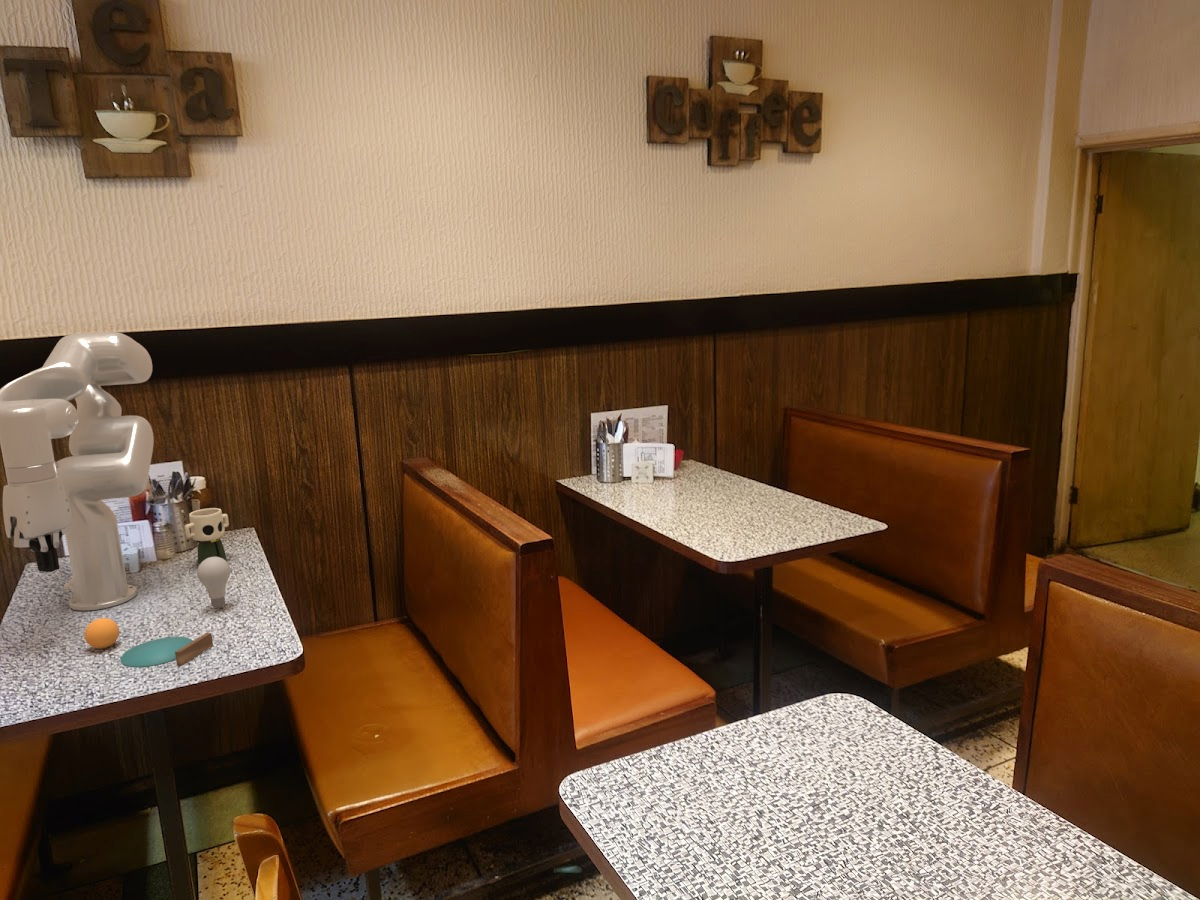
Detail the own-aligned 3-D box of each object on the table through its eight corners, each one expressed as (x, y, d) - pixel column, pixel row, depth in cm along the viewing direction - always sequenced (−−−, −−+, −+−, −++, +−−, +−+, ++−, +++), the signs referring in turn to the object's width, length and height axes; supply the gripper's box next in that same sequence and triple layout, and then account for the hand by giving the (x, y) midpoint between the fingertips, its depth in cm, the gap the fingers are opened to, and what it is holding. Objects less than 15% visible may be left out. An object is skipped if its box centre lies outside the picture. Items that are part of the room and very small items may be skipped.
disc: (104, 664, 147) (104, 663, 147) (155, 635, 158) (155, 634, 158) (161, 669, 144) (161, 668, 144) (209, 640, 155) (209, 639, 155)
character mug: (200, 573, 192) (192, 519, 190) (182, 568, 196) (174, 516, 194) (242, 559, 201) (235, 507, 199) (224, 555, 205) (217, 504, 203)
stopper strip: (176, 665, 146) (174, 651, 145) (208, 645, 153) (206, 632, 153) (181, 665, 145) (179, 652, 145) (213, 645, 153) (211, 633, 152)
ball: (80, 652, 152) (74, 624, 151) (104, 639, 157) (99, 612, 156) (104, 654, 151) (99, 626, 150) (128, 641, 156) (123, 614, 155)
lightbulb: (226, 613, 168) (219, 562, 166) (197, 614, 168) (189, 563, 166) (240, 602, 174) (233, 552, 172) (211, 603, 174) (204, 553, 172)
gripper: (51, 464, 158) (67, 556, 161) (-25, 483, 144) (-5, 583, 147) (83, 464, 156) (98, 558, 160) (9, 484, 142) (28, 585, 145)
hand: (49, 570), depth 153 cm, fingers closed
